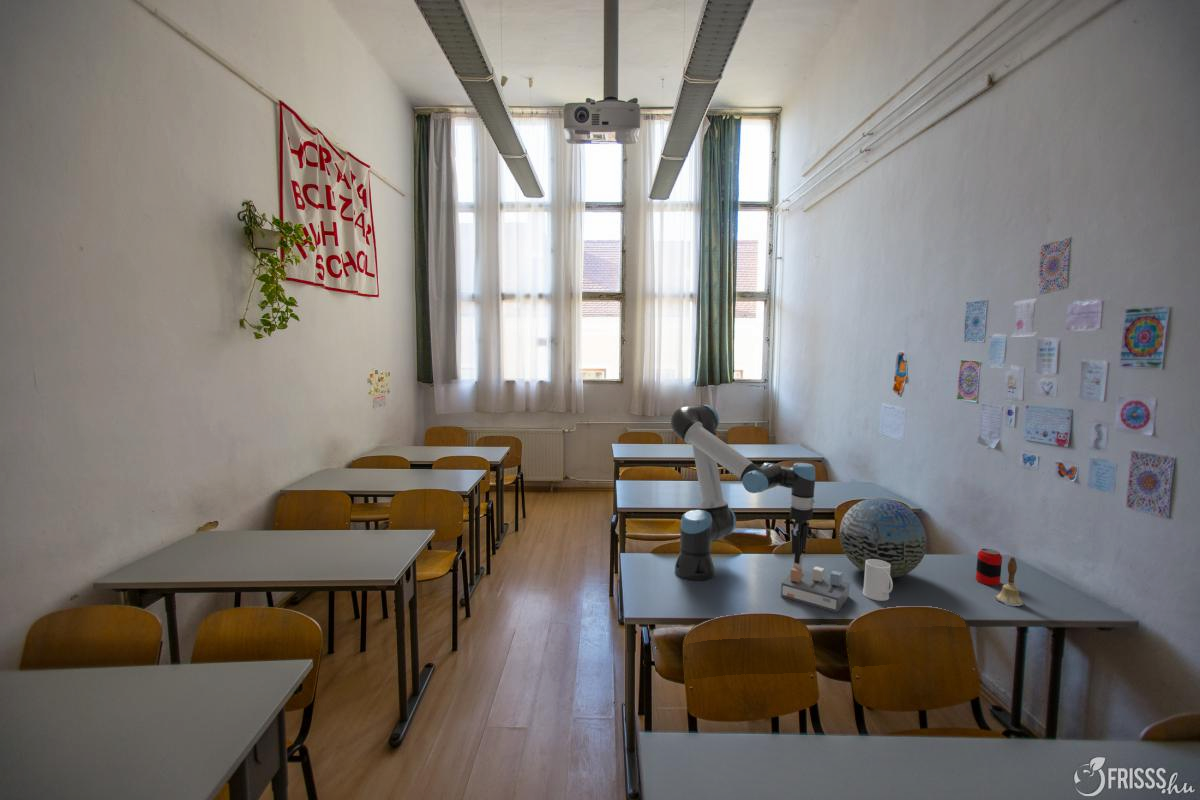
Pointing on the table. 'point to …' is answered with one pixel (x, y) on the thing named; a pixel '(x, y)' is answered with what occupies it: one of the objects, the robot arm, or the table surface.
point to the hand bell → (1010, 586)
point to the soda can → (989, 567)
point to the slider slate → (836, 578)
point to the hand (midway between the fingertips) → (797, 570)
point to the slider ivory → (818, 574)
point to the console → (816, 592)
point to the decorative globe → (883, 535)
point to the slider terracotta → (796, 574)
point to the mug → (877, 580)
